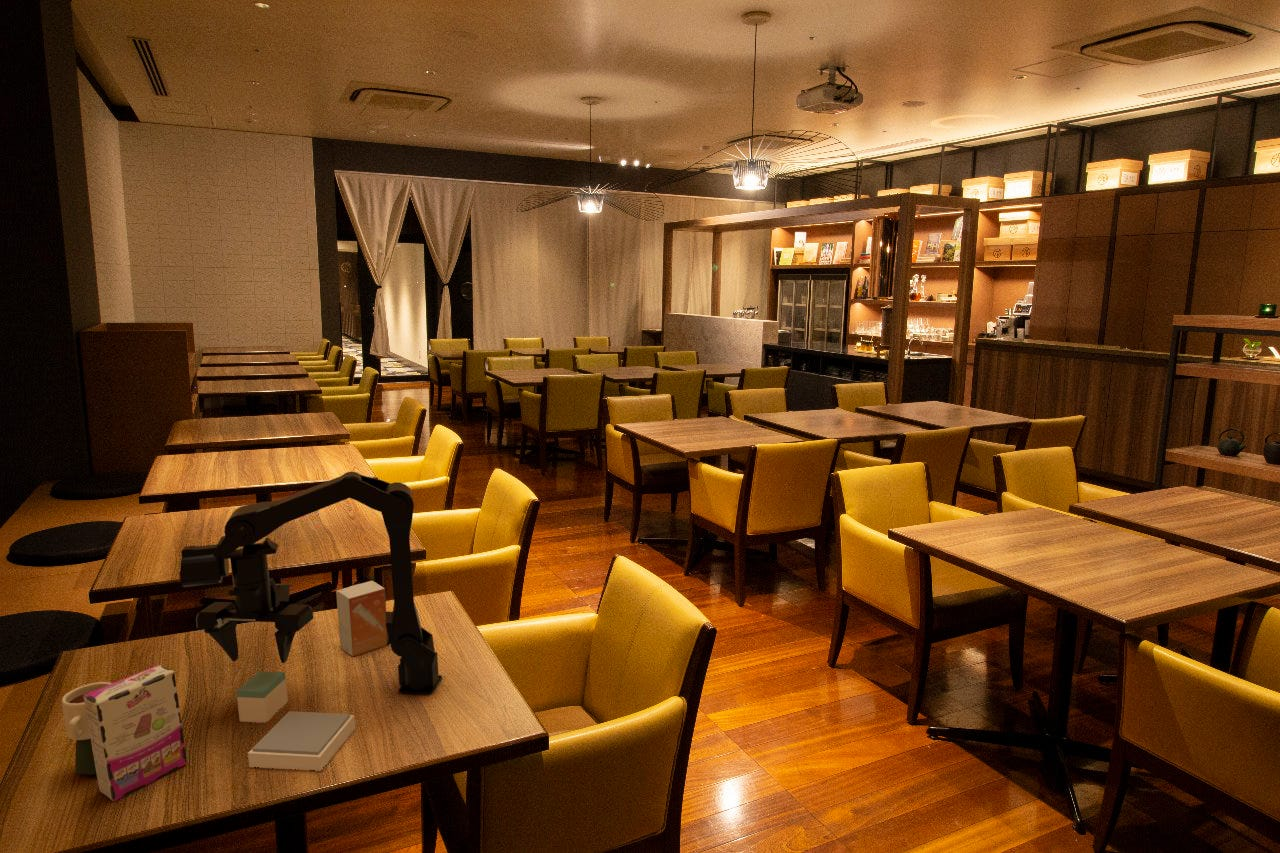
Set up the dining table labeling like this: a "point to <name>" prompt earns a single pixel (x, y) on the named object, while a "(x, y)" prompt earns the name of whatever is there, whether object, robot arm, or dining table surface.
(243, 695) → the cream carton
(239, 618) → the robot arm
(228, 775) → the dining table surface
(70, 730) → the character mug
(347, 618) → the small box
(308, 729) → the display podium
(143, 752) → the candy bar box
